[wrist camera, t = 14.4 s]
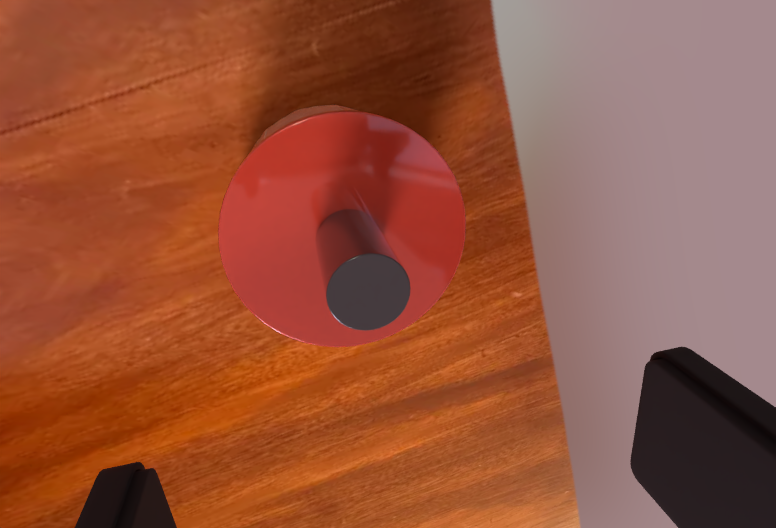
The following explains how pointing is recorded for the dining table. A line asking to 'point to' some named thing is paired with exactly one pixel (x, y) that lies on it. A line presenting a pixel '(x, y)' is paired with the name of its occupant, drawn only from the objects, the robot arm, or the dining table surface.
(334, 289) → the pot lid
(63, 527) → the dining table surface
